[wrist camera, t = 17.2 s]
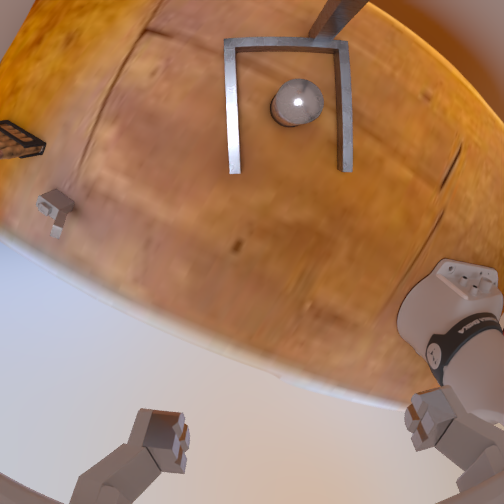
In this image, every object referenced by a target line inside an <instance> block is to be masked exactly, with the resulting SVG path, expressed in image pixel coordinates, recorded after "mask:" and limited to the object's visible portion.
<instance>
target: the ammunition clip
mask: <svg viewBox="0 0 504 504" xmlns="http://www.w3.org/2000/svg"><path fill="white" fill-rule="evenodd" d="M45 146H46V143H45V142H44V141H42V140H40V139H39V138H37V137H35V136H34V135H32V134H30V133H29V132H27V131H25V130H24V129H22V128H20V127H19V126H17V125H15V124H14V123H12V122H10V121H9V120H3V121H0V159H11V158H15V157H19V158H26V157H31V156H37V155H43V152H44V149H45Z"/></svg>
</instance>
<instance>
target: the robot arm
mask: <svg viewBox="0 0 504 504" xmlns="http://www.w3.org/2000/svg"><path fill="white" fill-rule="evenodd" d="M449 267H450V268H449ZM497 287H498V274H497V271H496V270H495V269H494V268H490V267H485V266H480V265H476V264H471V263H466V262H461V261H455V260H450V259H443V260H441V261H440V262H439V263H438V264H437V266H436V267H435V269H434V270H433V271H432V273H431V274H430V275H429V276H427V277H426V278H425V279H423V280H422V281H421V282H419V283H418V284H417V285H416V286H415V287H414V288H413V289H412V290H411V291H410V293H409V294H408V295H407V297H406V298H405V300H404V302H403V304H402V306H401V308H400V311H399V314H398V319H397V328H398V332H399V334H400V336H401V337H402V338H403V339H404V340H405V341H406V342H408V343H409V344H410V345H411V346H412V347H413V348H414V350H415V351H416V352H417V354H418V355H421V356H422V357H423V359H424V360H425V361H426V362H427V363H428V365H429V367H430V369H431V372H432V373H433V375H434V377H435V378H436V380H437V382H438V383H439V385H440V386H441V387H439V388H434V389H430V390H426V391H423V392H419V393H415V394H414V395H413V397H412V399H411V402H412V404H411V405H410V406H409V407H407V409H406V412H405V425H406V427H407V430H409V431H410V432H412V433H413V435H412V437H411V440H412V442H413V445H414V447H415V450H416V451H421V450H424V449H428V448H431V447H434V446H435V448H436V449H437V450H439V451H440V452H441V453H442V454H444V455H445V456H446V457H447V458H449V459H450V460H451V461H452V462H454V463H455V464H456V465H457V466H459V467H460V468H461V469H462V470H464V471H465V472H464V473H463V474H462V475H461V476H460V477H459V478H458V479H457V482H456V483H457V486H458V488H459V491H460V493H459V494H457V495H454V496H452V497H450V498H448V499H445V500H443V501H441V502H438V503H436V504H504V431H503V430H501V429H499V428H498V427H496V426H494V424H497V423H501V424H502V425H503V426H504V329H503V331H502V329H501V327H500V324H499V320H500V317H501V313H502V309H503V295H502V293H501V291H500V290H499V289H498V288H497ZM184 422H185V417H184V414H183V413H179V412H169V411H159V410H151V409H143V408H141V409H140V410H139V411H138V413H137V416H136V419H135V422H134V425H133V428H132V431H131V434H130V437H129V440H128V443H127V444H122V445H121V446H120V447H118V448H117V449H116V450H114V451H113V452H112V453H110V454H109V455H108V456H106V457H105V458H104V459H102V460H101V461H100V462H98V463H97V464H96V465H94V466H93V467H91V468H90V469H89V470H87V471H86V472H85V473H83V474H82V475H81V476H79V478H78V481H77V483H76V486H75V489H74V491H73V495H72V497H71V500H70V503H69V504H132V503H133V502H134V501H135V500H136V499H137V498H138V497H139V496H140V495H141V494H142V493H143V491H145V490H146V488H147V487H148V486H149V485H150V484H151V483H152V482H153V481H154V480H155V479H156V478H157V477H158V476H159V475H160V474H161V472H170V473H180V474H184V473H185V467H186V462H187V458H186V456H185V452H186V451H187V450H188V449H189V443H190V433H189V429H188V426H187V425H186V424H185V423H184ZM0 504H64V503H61V502H59V501H56V500H54V499H52V498H49V497H47V496H45V495H43V494H41V493H38V492H36V491H34V490H32V489H30V488H28V487H26V486H24V485H22V484H20V483H18V482H17V481H15V480H13V479H11V478H9V477H7V476H6V475H4V474H2V473H0Z"/></svg>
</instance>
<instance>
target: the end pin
mask: <svg viewBox="0 0 504 504" xmlns="http://www.w3.org/2000/svg"><path fill="white" fill-rule="evenodd" d="M323 105H324V100H323V95H322V93H321V91H320V90H319V88H318V87H317V86H316V85H315V84H313V83H312V82H310V81H308V80H305V79H293V80H290V81H288V82H286V83H285V84H283V85H282V86H281V88H280V89H279V91H278V92H277V94H276V95H275V96H274V98H273V99H272V101H271V104H270V113H271V116H272V118H273V119H274V120H275V121H276V122H277V123H278V124H280V125H282V126H284V127H295V126H298V125H300V124H305V123H309V122H311V121H313V120H315V119H316V118H317V117H318V116H319V115H320V114H321V112H322V109H323Z"/></svg>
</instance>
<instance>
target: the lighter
mask: <svg viewBox="0 0 504 504" xmlns="http://www.w3.org/2000/svg"><path fill="white" fill-rule="evenodd" d="M36 206H37V207H38V210H39V211H40V212H41V213H43V214H44V215H45V216H48V215H49V216H50V217H51V218H53V219H54V220H55V222H54V224H53V228H52V231H51V234H50V236H52V237H54V238H57V239H59V238H60V235H61V232H62V229H63V225H64V222H65V219H66V216H67V213H69V212H71V211H72V209H73V206H74V201H73V200H71V199H70V198H68V197H67V196H66V195H64V194H63V193H61V192H60V191H58V190H57V189H55V190H52V191H50V192H47V193H45V194H42V195H40V196H38V199H37V203H36Z"/></svg>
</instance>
